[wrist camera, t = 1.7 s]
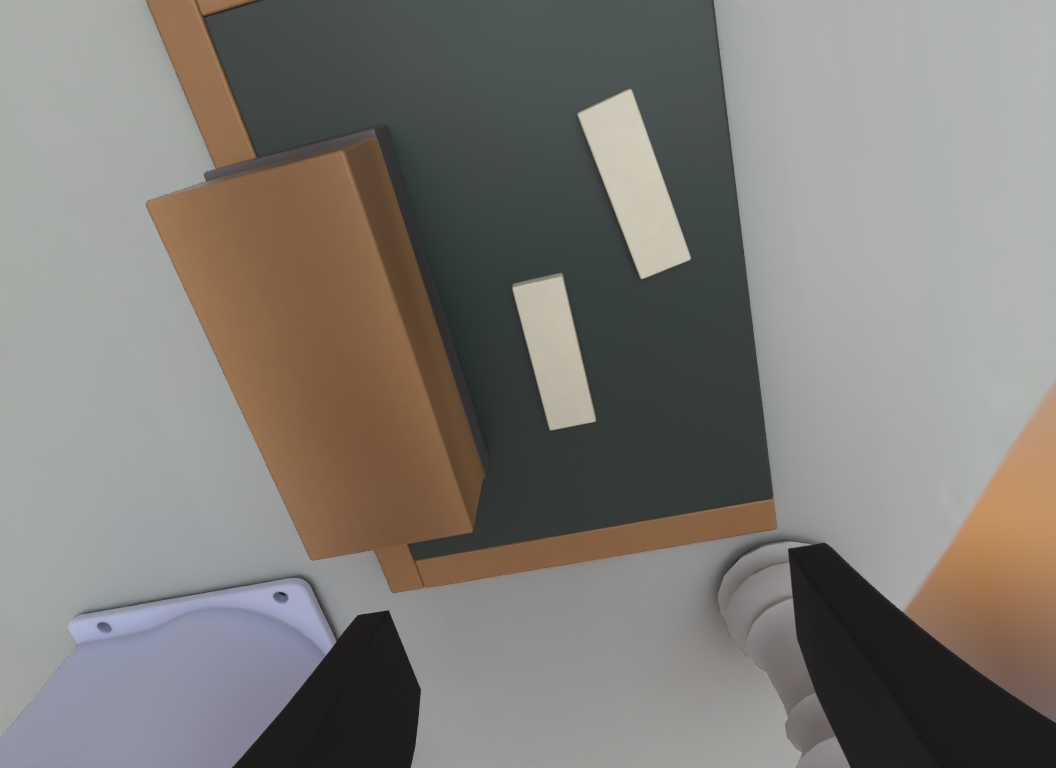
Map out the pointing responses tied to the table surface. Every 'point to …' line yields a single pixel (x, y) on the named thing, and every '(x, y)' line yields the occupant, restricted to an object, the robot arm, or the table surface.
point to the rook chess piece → (778, 646)
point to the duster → (333, 340)
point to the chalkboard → (531, 244)
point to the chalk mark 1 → (554, 351)
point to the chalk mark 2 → (634, 183)
